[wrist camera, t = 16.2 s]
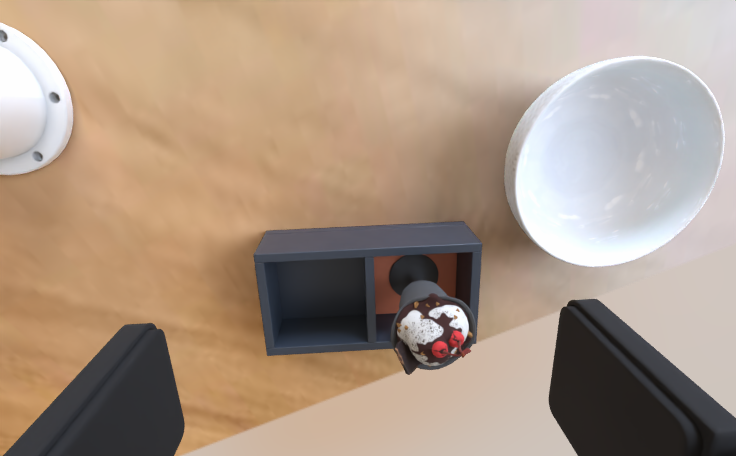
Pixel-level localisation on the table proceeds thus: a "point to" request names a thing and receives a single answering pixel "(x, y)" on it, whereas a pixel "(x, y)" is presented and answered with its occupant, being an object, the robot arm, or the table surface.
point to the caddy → (353, 282)
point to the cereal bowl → (614, 160)
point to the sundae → (427, 317)
